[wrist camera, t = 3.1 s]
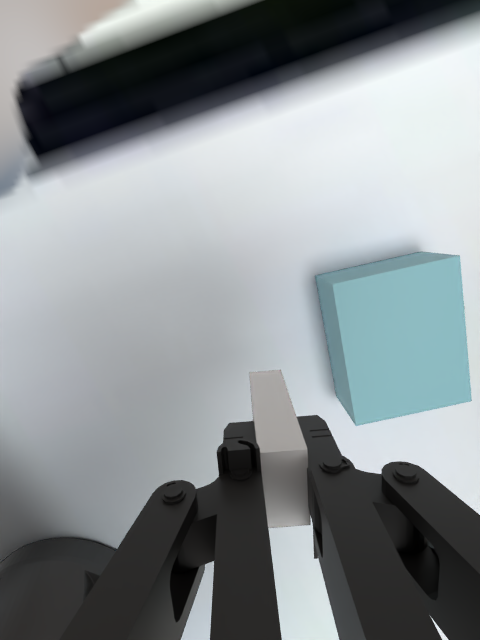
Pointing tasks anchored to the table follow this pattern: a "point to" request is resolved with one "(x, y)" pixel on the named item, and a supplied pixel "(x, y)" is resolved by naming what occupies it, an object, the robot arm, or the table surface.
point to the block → (396, 335)
